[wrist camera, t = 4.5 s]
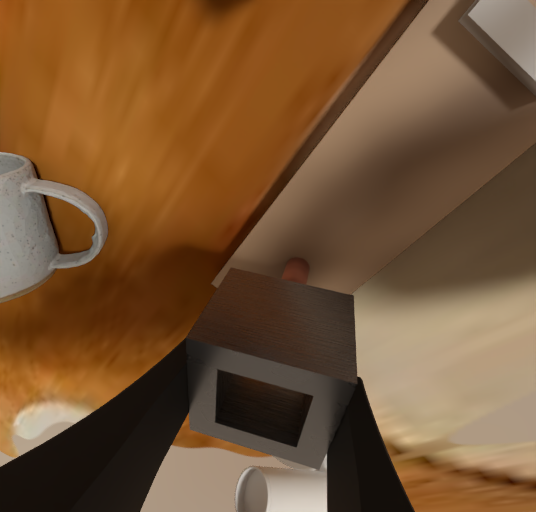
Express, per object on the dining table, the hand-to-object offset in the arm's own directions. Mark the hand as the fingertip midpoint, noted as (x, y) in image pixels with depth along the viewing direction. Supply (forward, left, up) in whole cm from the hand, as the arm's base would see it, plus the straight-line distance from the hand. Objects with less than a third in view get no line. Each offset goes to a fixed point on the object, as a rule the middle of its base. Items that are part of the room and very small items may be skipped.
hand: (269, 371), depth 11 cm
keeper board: (0, -6, -9) cm, 11 cm away
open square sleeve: (0, 0, -2) cm, 2 cm away
